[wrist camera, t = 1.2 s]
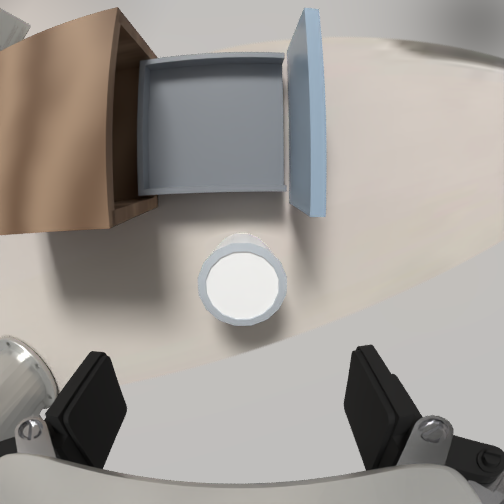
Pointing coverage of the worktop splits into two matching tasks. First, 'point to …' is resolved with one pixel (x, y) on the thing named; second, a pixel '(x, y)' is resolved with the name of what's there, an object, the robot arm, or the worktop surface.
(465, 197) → the worktop surface
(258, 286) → the shot glass
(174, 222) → the worktop surface
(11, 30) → the supplement box
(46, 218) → the tan storage bin
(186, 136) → the tray
